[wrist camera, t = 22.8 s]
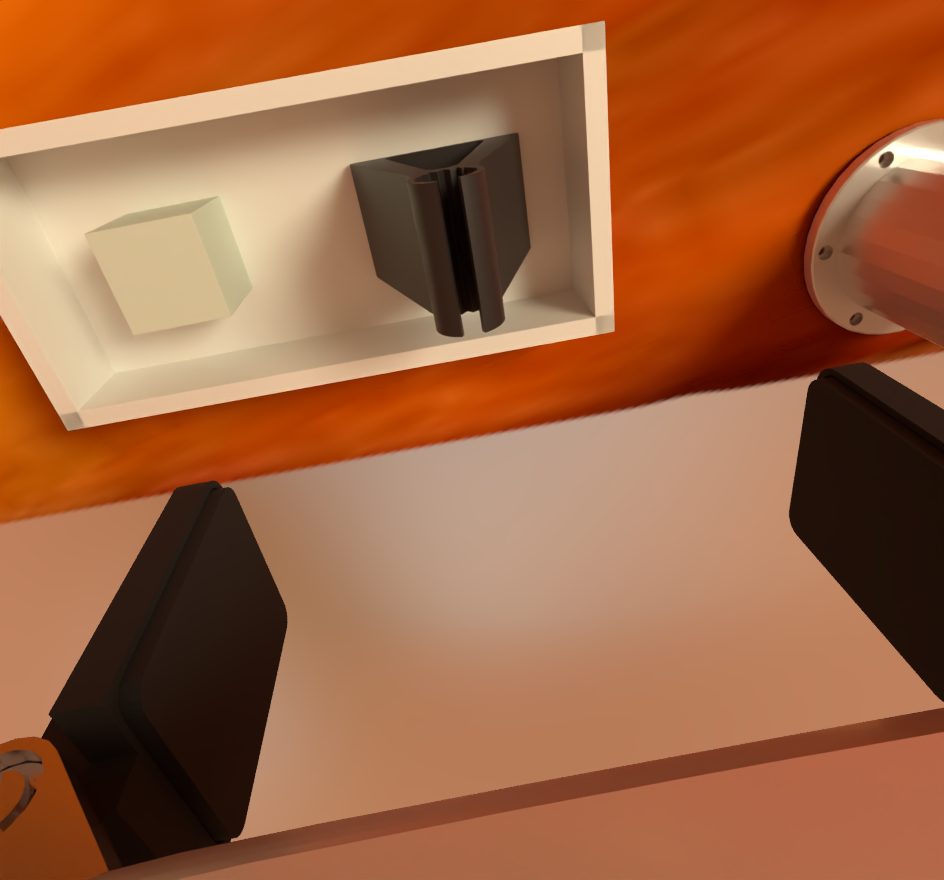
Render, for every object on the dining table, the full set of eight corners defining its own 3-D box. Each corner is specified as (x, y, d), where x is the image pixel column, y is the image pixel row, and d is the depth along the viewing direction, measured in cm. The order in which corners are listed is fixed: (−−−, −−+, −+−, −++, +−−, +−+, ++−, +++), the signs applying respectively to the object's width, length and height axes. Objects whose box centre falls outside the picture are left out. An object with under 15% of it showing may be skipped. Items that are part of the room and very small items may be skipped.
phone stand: (517, 132, 32) (572, 156, 22) (529, 247, 35) (582, 315, 25) (349, 162, 32) (323, 201, 21) (376, 274, 35) (364, 355, 25)
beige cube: (219, 195, 32) (191, 213, 28) (252, 287, 35) (231, 316, 30) (126, 213, 32) (84, 234, 28) (167, 304, 35) (133, 335, 30)
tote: (570, 31, 31) (604, 20, 25) (585, 297, 38) (614, 331, 33) (-14, 136, 30) (-98, 147, 25) (113, 383, 38) (68, 430, 33)
